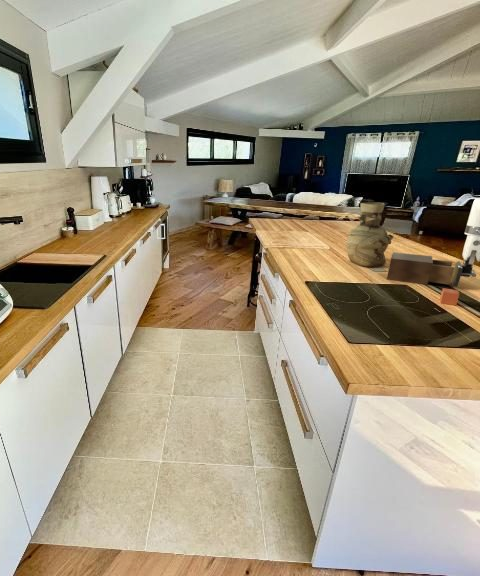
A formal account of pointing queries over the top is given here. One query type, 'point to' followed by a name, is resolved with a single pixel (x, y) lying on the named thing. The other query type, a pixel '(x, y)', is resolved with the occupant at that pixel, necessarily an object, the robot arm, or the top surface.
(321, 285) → the top surface
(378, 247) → the ceramic vessel
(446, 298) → the block
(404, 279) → the cabinet
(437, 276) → the drawer
